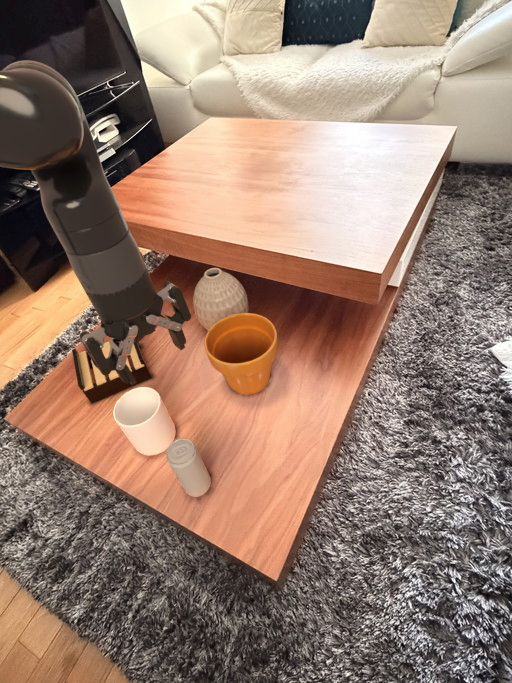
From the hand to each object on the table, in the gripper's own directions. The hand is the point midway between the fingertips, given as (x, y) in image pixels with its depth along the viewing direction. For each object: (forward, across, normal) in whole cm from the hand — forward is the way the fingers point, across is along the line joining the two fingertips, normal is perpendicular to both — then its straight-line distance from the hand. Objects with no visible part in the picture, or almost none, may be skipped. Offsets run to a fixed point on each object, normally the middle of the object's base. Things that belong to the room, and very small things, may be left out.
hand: (156, 363), depth 56 cm
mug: (+25, +5, -10) cm, 27 cm away
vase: (+25, -26, -21) cm, 41 cm away
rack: (+25, +1, -30) cm, 39 cm away
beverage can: (+25, +4, +6) cm, 26 cm away
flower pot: (+25, -18, -5) cm, 31 cm away
